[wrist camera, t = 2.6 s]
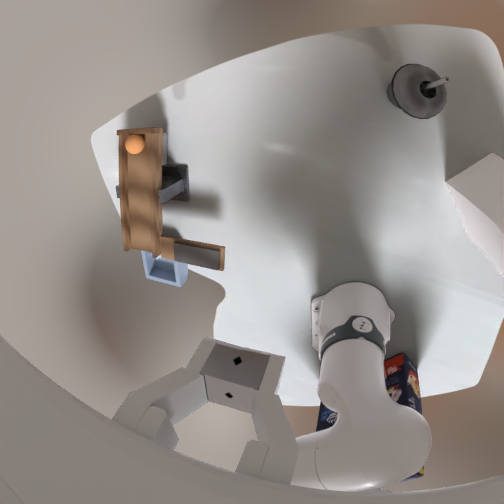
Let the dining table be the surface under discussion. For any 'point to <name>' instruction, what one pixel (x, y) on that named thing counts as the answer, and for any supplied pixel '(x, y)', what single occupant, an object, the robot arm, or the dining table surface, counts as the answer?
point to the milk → (482, 206)
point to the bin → (164, 269)
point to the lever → (154, 204)
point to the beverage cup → (417, 91)
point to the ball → (135, 144)
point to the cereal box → (399, 389)
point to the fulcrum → (172, 184)
